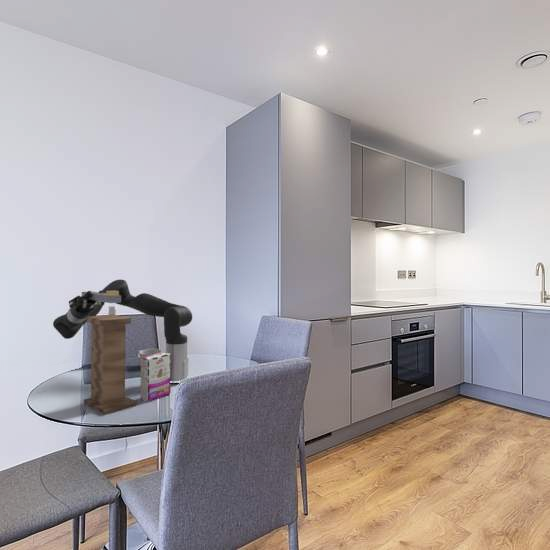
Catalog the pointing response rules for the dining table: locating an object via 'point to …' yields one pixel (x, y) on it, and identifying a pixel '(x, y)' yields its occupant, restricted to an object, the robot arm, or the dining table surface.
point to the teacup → (147, 353)
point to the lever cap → (105, 296)
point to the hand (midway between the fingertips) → (96, 292)
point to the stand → (108, 364)
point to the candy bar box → (155, 376)
